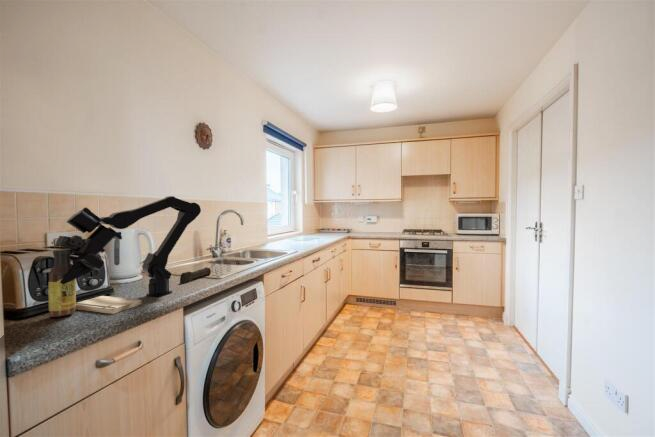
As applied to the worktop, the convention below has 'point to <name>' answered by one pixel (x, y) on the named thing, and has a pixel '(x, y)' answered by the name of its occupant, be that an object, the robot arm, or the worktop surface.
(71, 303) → the sauce bottle
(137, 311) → the worktop surface
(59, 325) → the worktop surface
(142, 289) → the worktop surface
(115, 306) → the birch board
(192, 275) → the hand tool
